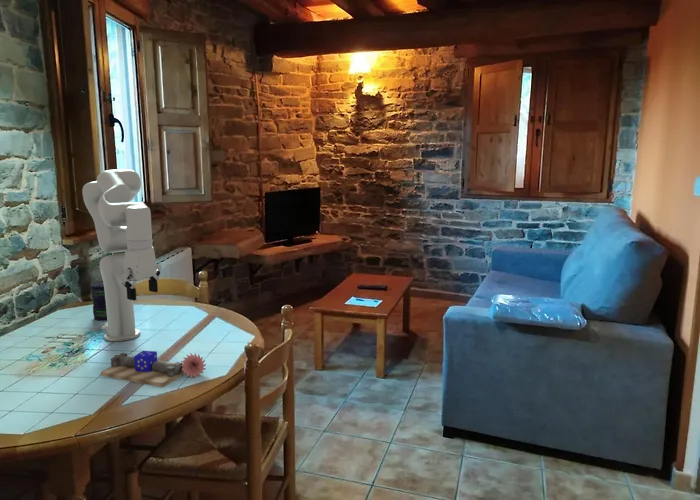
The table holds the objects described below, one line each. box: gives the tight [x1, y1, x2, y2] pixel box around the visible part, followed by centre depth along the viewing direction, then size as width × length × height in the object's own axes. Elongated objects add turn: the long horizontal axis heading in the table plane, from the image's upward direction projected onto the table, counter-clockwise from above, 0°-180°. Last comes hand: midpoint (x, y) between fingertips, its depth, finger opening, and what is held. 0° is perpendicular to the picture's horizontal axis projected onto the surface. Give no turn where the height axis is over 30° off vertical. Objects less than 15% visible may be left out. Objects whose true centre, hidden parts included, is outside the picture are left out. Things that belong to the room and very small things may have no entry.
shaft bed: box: [100, 352, 185, 388], centre depth 170 cm, size 25×14×4 cm, turn 69°
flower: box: [181, 352, 207, 378], centre depth 168 cm, size 8×8×6 cm
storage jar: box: [90, 280, 107, 322], centre depth 226 cm, size 10×10×15 cm
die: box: [133, 350, 158, 372], centre depth 169 cm, size 5×5×5 cm
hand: (142, 295), depth 175 cm, fingers open, 9 cm apart
